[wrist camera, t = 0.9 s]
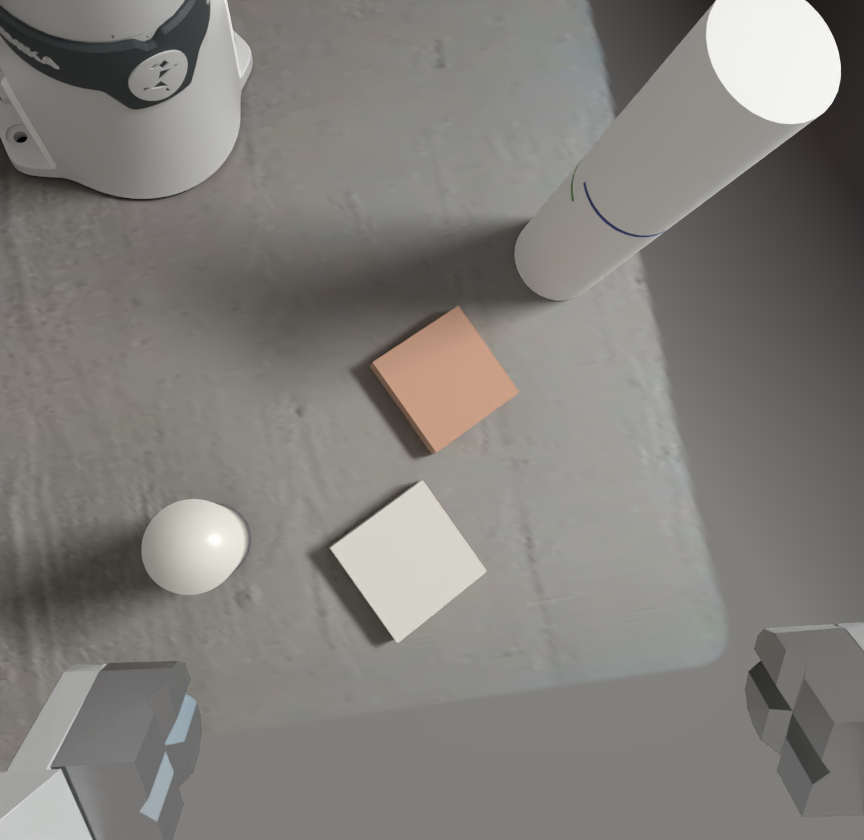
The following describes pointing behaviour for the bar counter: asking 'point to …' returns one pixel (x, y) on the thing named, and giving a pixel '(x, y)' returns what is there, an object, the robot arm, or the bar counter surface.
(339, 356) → the bar counter surface
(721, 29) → the cylindrical container
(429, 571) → the stone pad
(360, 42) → the bar counter surface
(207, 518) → the white rounded-top cylinder
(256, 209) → the bar counter surface
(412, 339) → the terracotta pad
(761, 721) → the robot arm
